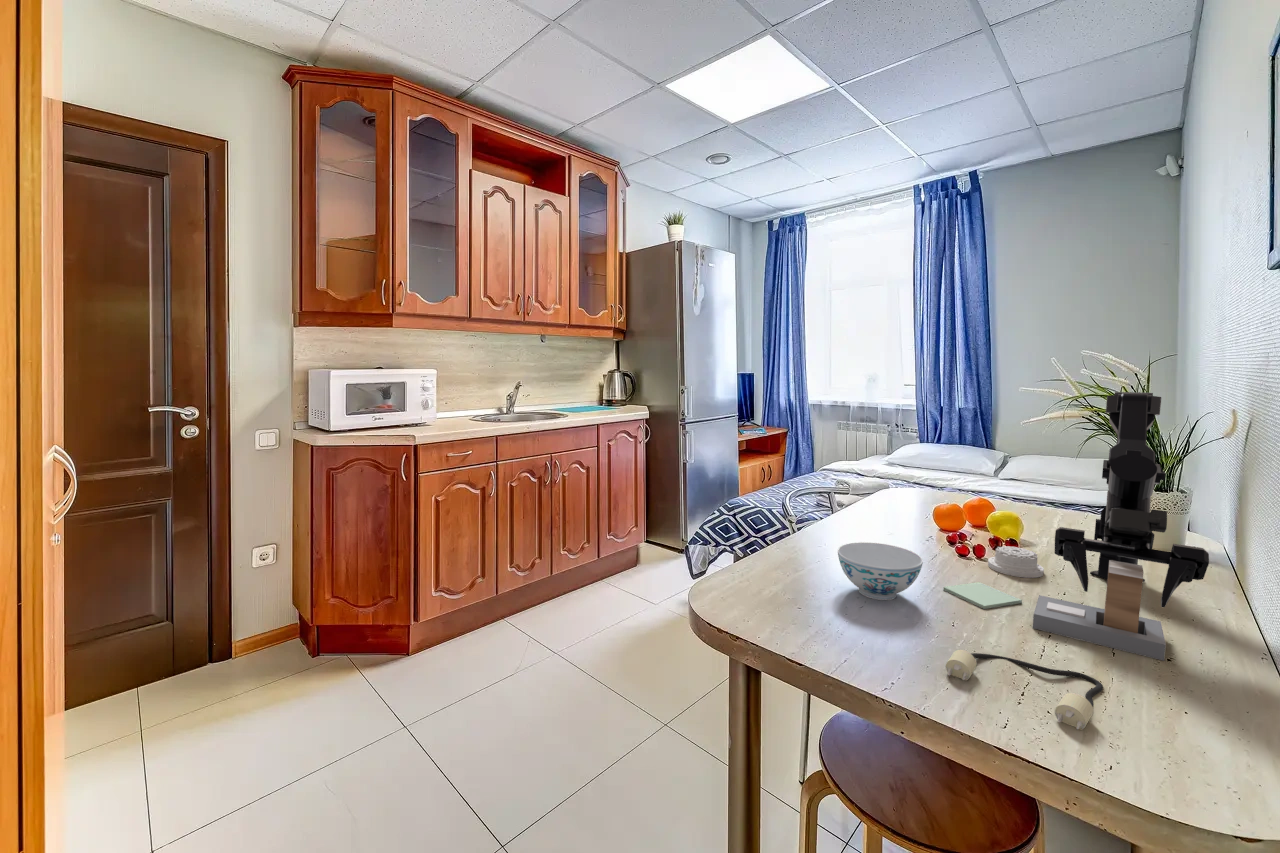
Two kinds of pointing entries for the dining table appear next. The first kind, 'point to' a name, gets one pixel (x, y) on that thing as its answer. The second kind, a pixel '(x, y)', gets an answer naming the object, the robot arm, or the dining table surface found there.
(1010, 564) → the mechanical component
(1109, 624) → the plug
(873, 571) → the chinaware
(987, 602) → the mat
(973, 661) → the cable
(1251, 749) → the dining table surface
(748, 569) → the dining table surface
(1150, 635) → the socket block
